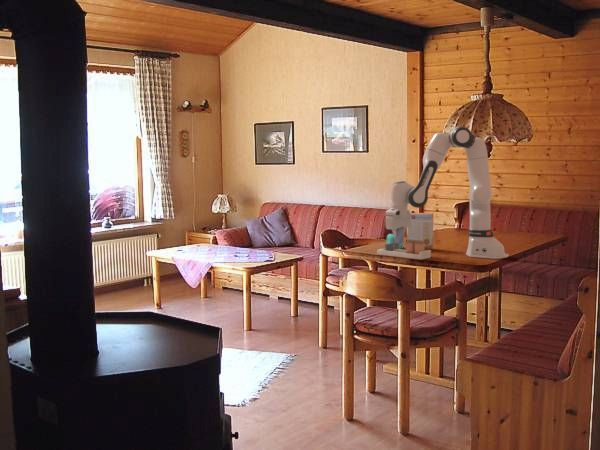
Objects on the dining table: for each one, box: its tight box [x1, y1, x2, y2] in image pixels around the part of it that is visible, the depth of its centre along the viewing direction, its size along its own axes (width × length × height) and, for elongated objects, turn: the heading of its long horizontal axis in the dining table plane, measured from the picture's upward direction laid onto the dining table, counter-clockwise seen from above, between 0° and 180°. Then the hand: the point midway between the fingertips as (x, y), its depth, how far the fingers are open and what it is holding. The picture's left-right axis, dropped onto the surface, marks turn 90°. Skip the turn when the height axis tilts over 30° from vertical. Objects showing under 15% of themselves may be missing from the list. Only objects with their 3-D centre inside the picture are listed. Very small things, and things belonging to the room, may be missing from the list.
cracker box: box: [407, 212, 434, 251], centre depth 409 cm, size 14×6×21 cm, turn 70°
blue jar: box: [394, 227, 405, 244], centre depth 385 cm, size 5×5×9 cm
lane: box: [376, 248, 432, 260], centre depth 384 cm, size 29×9×4 cm, turn 47°
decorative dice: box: [386, 233, 404, 249], centre depth 414 cm, size 8×8×8 cm
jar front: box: [414, 241, 425, 254], centre depth 377 cm, size 5×5×9 cm
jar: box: [405, 239, 416, 254], centre depth 381 cm, size 5×5×9 cm
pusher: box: [384, 242, 399, 251], centre depth 392 cm, size 2×11×6 cm, turn 137°
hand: (398, 236), depth 385 cm, fingers closed on blue jar, 5 cm apart
